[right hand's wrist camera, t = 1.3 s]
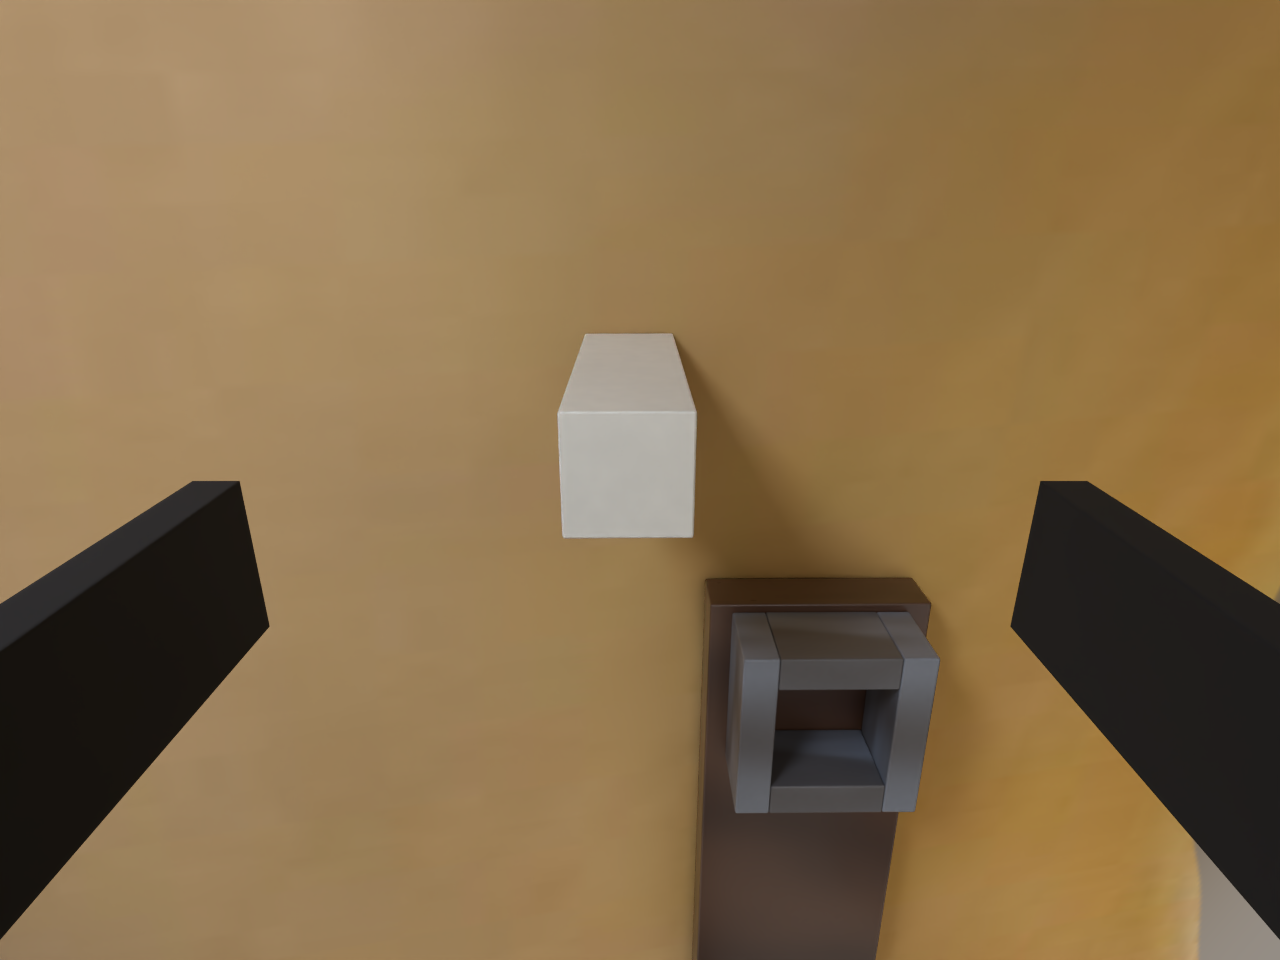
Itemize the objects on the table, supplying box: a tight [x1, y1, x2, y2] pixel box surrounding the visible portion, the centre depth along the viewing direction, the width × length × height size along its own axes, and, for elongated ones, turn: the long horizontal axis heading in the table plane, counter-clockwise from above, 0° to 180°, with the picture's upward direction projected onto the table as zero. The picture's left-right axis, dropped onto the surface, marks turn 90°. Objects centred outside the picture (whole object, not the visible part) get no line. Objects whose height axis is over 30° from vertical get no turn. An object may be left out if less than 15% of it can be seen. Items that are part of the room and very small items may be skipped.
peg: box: [557, 334, 697, 538], centre depth 21 cm, size 3×3×10 cm
